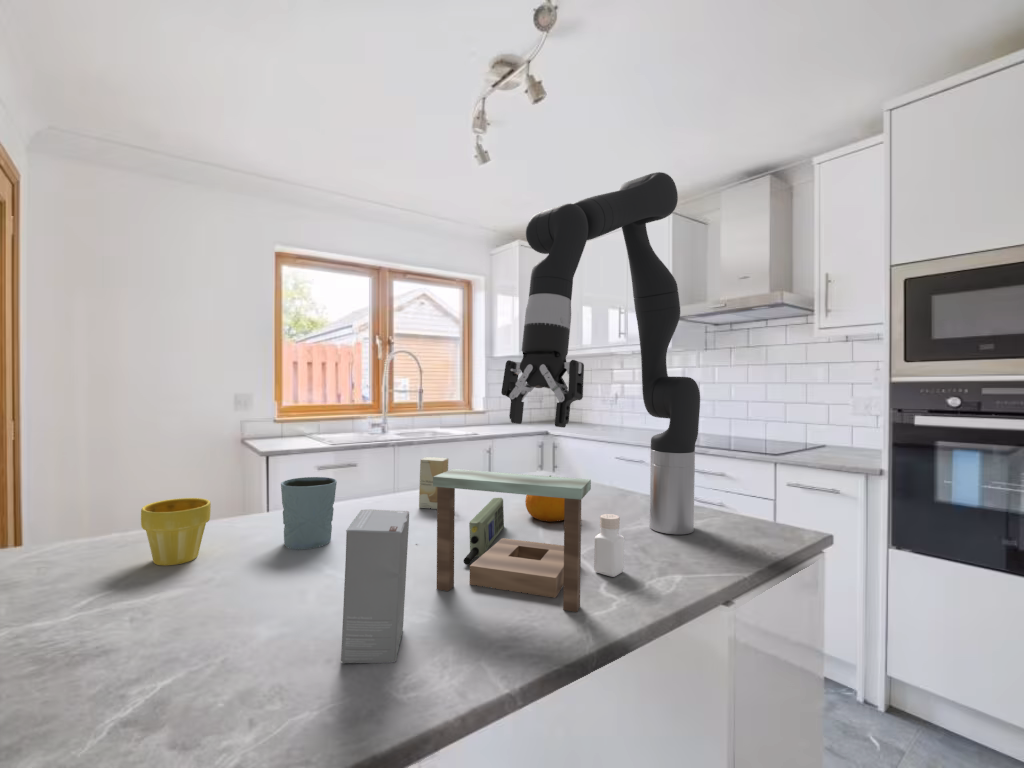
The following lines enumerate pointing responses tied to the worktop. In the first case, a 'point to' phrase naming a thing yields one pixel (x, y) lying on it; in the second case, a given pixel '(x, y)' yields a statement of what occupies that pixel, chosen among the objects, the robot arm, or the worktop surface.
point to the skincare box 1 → (374, 586)
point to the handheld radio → (485, 528)
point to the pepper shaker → (609, 547)
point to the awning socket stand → (515, 559)
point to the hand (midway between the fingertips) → (537, 425)
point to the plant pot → (175, 528)
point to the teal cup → (308, 511)
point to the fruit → (545, 508)
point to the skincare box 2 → (430, 480)
